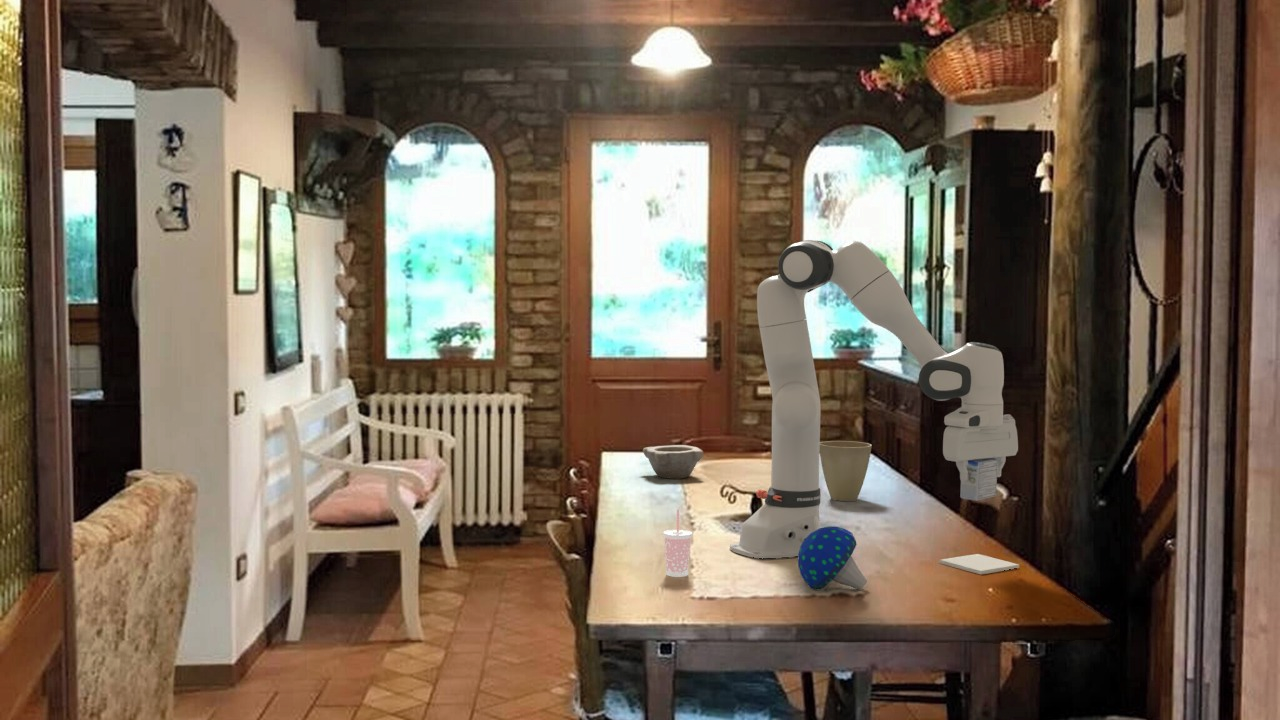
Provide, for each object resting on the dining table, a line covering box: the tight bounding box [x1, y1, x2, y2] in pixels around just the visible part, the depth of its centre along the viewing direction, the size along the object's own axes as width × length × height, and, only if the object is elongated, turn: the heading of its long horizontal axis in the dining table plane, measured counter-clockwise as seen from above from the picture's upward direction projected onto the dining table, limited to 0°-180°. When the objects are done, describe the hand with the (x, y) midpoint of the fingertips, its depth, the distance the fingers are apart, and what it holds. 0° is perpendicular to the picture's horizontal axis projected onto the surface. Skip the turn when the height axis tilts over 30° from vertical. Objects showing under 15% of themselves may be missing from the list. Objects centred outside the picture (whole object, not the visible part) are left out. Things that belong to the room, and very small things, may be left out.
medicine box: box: [959, 458, 998, 502], centre depth 273 cm, size 8×4×9 cm, turn 133°
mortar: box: [642, 444, 704, 480], centre depth 389 cm, size 17×17×9 cm
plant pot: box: [819, 440, 873, 502], centre depth 353 cm, size 15×15×16 cm
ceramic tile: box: [939, 553, 1020, 575], centre depth 274 cm, size 12×12×1 cm
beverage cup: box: [663, 508, 693, 578], centre depth 262 cm, size 6×6×14 cm
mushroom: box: [797, 525, 868, 591], centre depth 252 cm, size 14×14×15 cm
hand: (980, 478), depth 273 cm, fingers closed on medicine box, 8 cm apart
